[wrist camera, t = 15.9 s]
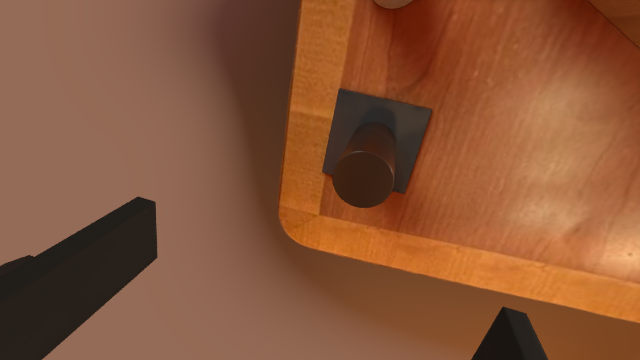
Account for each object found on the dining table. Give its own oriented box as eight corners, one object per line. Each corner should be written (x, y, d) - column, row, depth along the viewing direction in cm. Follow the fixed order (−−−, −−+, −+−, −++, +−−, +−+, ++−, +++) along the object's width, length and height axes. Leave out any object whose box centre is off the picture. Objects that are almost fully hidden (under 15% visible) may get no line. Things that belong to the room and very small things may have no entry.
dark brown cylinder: (346, 158, 37) (327, 199, 27) (356, 116, 35) (339, 144, 25) (389, 169, 37) (384, 215, 27) (401, 127, 34) (402, 160, 25)
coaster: (322, 170, 39) (321, 172, 39) (339, 87, 35) (339, 88, 34) (404, 192, 38) (404, 194, 37) (431, 108, 34) (432, 109, 33)
